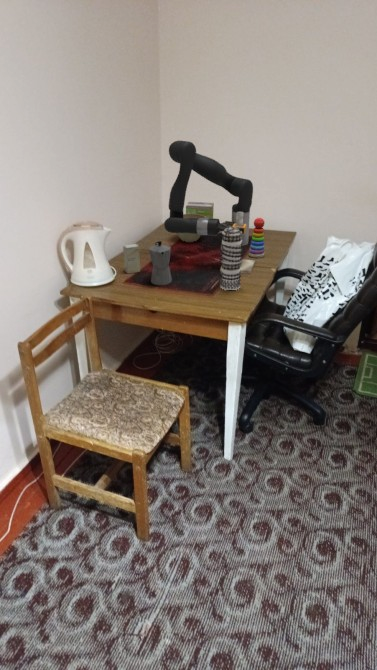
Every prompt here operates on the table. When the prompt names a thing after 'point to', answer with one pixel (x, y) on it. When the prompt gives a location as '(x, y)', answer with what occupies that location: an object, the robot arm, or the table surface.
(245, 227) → the collar
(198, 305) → the table surface
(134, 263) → the skincare box
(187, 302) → the table surface
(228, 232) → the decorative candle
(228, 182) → the robot arm
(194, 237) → the beige bowl
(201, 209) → the tea box
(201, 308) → the table surface
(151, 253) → the coffeepot
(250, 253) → the stacking toy
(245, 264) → the post stand
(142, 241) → the table surface
